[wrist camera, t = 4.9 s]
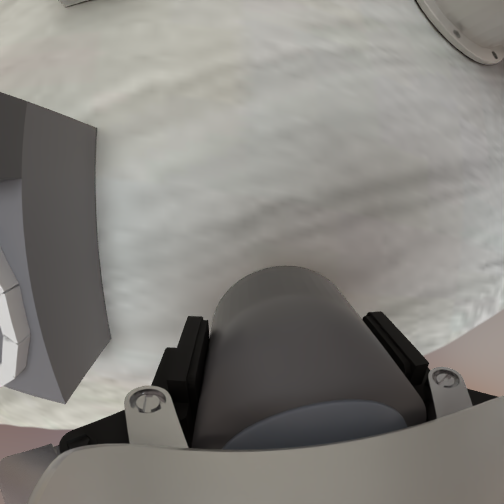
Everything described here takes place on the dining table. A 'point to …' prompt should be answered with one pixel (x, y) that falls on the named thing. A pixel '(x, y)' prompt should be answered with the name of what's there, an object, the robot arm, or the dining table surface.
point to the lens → (296, 369)
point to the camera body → (48, 252)
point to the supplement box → (71, 2)
